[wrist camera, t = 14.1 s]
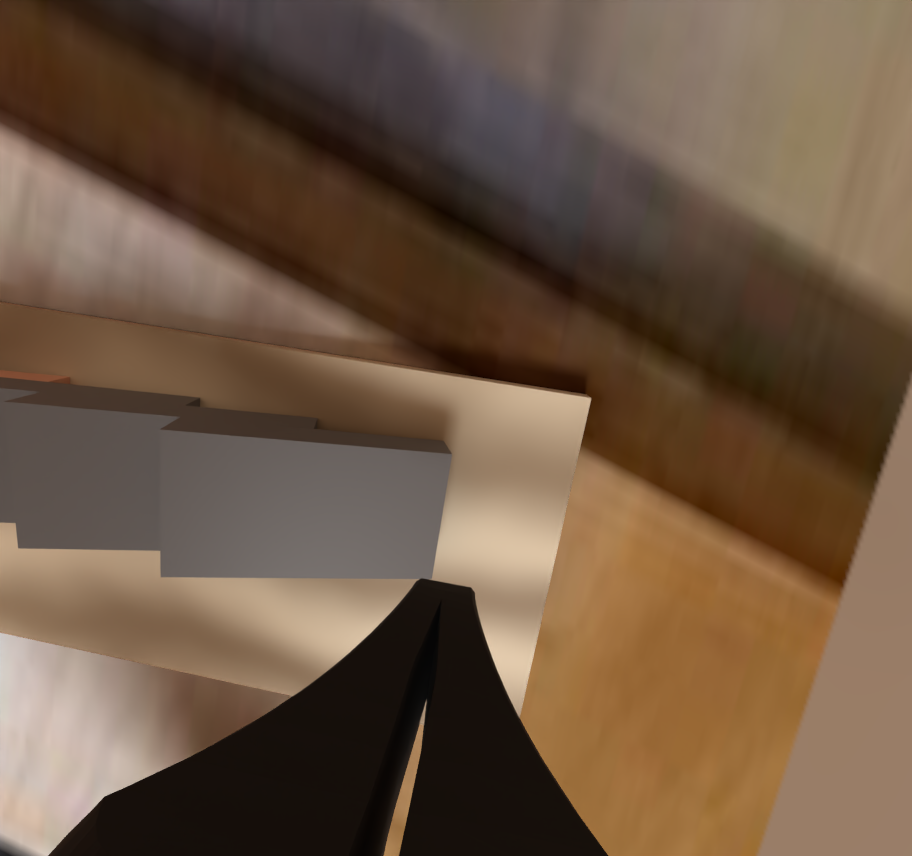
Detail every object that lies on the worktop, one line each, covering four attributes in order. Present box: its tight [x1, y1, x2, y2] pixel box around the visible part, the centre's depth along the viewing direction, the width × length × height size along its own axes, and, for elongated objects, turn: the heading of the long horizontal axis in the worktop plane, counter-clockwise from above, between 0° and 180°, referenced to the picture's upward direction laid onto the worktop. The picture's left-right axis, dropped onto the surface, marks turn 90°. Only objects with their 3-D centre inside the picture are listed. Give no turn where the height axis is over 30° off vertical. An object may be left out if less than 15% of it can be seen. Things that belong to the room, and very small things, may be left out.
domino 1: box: [0, 377, 200, 523], centre depth 16 cm, size 2×5×9 cm
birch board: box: [0, 302, 591, 725], centre depth 19 cm, size 16×30×1 cm, turn 82°
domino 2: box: [3, 392, 318, 551], centre depth 15 cm, size 2×5×9 cm
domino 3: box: [159, 417, 452, 579], centre depth 15 cm, size 2×5×9 cm
